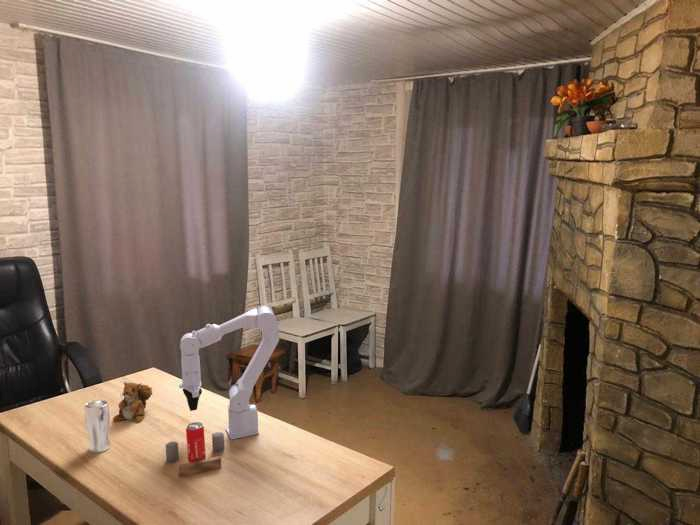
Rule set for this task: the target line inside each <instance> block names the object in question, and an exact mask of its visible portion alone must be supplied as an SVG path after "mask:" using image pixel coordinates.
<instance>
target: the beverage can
mask: <svg viewBox="0 0 700 525" xmlns="http://www.w3.org/2000/svg"><path fill="white" fill-rule="evenodd" d="M204 427H205V426H204V424H203V423H202V422H199V421H198V422H197V421H195V422H191V423H188V424H187V425H186V429H185V435H186V436H185V438H186V449H187V463H190V462H195V461H199V460H203V459H207V457H206V442H205V440H206V439H205V428H204Z"/></svg>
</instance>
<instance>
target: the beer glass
mask: <svg viewBox="0 0 700 525" xmlns="http://www.w3.org/2000/svg"><path fill="white" fill-rule="evenodd" d="M84 419H85V420H84V421H85V426H86V429H87V434H88V436H89V452H91V453H94V454H98V453H103V452H105V451H108V450H109V449H110V448H111V443H110V439H109V428H110V409H109V403H108V401H107V400H106V399H95V400H91V401H88V402H87V403H85V405H84Z"/></svg>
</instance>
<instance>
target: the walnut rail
mask: <svg viewBox="0 0 700 525" xmlns="http://www.w3.org/2000/svg"><path fill="white" fill-rule="evenodd" d="M177 468H178V476H179V477H180V478H182V477H185V476H190V475H191V476H192V475H195V474H199V473H204V472H208V471H212V470H217V469H220V468H222V458H221V456H220V455H218V456H217V455H216V456H214V457H213V456H212V457H209V458H206V459H203V460H199V461H195V462H190V463H189V462H187V463H182V464H178V467H177Z"/></svg>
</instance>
